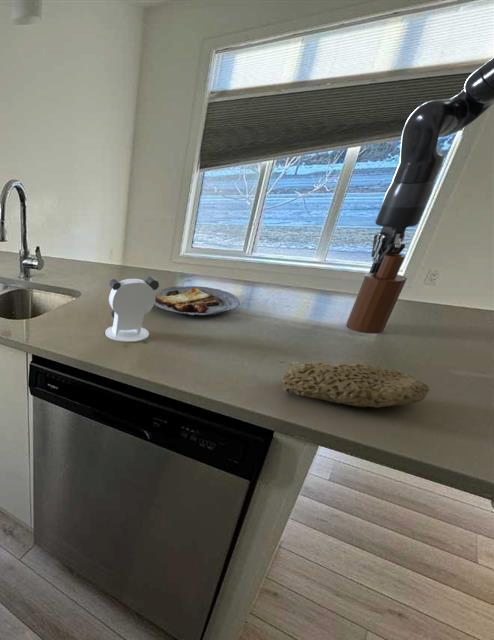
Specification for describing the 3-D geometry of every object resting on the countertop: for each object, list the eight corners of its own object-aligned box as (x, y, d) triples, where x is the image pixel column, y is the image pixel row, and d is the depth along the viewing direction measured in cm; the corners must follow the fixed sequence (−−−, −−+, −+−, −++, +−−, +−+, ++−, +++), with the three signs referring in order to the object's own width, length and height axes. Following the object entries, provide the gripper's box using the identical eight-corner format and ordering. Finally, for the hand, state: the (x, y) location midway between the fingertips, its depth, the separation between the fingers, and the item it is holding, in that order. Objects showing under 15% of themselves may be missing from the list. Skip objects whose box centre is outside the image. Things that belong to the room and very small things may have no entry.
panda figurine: (143, 324, 115) (150, 272, 108) (157, 340, 105) (165, 284, 98) (101, 327, 116) (104, 275, 108) (111, 343, 106) (116, 288, 98)
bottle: (378, 323, 103) (409, 252, 94) (387, 334, 98) (422, 259, 89) (342, 321, 106) (370, 251, 97) (350, 331, 101) (379, 258, 92)
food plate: (179, 325, 112) (182, 313, 111) (133, 300, 132) (134, 290, 130) (255, 311, 117) (259, 299, 115) (200, 289, 136) (202, 279, 135)
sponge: (278, 404, 79) (428, 422, 65) (281, 366, 77) (436, 375, 63) (291, 388, 88) (426, 400, 74) (294, 353, 86) (433, 358, 72)
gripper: (438, 207, 86) (403, 285, 95) (414, 199, 97) (384, 270, 105) (392, 208, 90) (362, 284, 98) (374, 200, 100) (348, 270, 108)
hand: (374, 277), depth 102 cm, fingers closed
